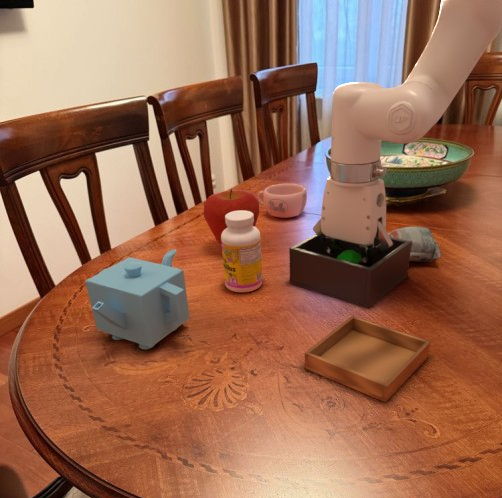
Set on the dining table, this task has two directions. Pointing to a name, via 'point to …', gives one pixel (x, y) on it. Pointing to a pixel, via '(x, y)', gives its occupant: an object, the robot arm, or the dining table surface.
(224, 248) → the supplement bottle
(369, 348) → the tray
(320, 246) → the dark brown open box
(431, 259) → the packaged food
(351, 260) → the polyhedron
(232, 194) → the apple
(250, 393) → the dining table surface
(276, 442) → the dining table surface
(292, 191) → the mug
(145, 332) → the teapot
